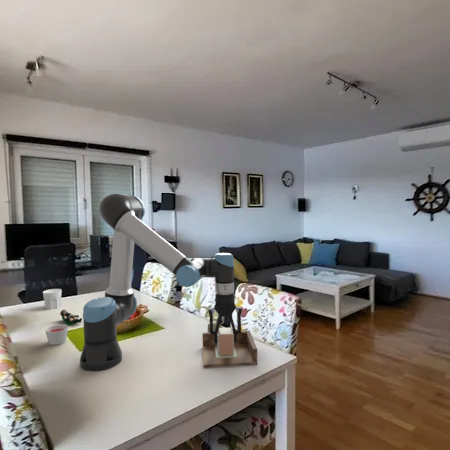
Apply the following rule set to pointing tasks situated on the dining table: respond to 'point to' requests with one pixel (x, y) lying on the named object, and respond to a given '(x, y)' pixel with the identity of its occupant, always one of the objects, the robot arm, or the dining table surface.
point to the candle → (57, 334)
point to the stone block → (213, 327)
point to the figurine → (70, 318)
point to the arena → (243, 349)
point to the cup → (52, 298)
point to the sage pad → (225, 355)
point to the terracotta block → (226, 341)
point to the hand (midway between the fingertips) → (225, 350)
